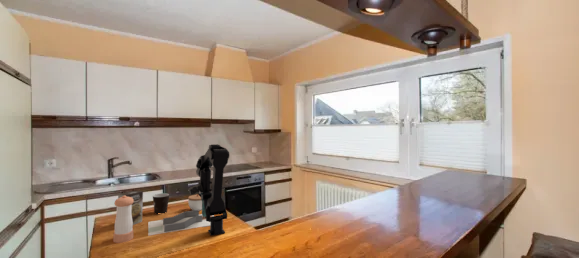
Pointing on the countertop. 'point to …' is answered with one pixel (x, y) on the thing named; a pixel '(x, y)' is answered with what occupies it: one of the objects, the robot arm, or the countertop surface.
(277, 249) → the countertop surface
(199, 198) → the lidded jar
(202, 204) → the teal peg
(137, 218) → the coffee box
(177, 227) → the channel
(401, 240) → the countertop surface
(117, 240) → the pepper shaker
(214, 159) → the robot arm
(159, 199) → the coffee mug
